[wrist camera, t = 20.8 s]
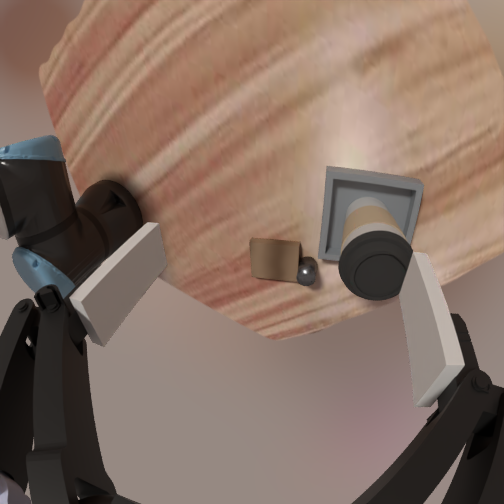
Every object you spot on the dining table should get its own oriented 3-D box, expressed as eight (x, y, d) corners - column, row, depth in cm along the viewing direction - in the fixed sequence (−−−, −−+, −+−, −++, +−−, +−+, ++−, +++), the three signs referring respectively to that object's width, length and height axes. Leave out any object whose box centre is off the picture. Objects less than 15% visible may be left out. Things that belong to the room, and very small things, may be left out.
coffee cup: (365, 254, 44) (372, 322, 32) (325, 217, 42) (320, 278, 30) (407, 219, 39) (433, 279, 27) (368, 177, 37) (385, 225, 25)
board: (254, 270, 52) (251, 276, 51) (252, 236, 49) (249, 242, 47) (298, 275, 50) (297, 281, 49) (300, 240, 47) (298, 246, 45)
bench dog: (298, 270, 49) (295, 284, 46) (300, 255, 48) (297, 269, 44) (316, 272, 49) (314, 287, 45) (317, 257, 47) (316, 272, 44)
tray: (318, 250, 46) (317, 258, 44) (326, 165, 39) (326, 170, 37) (400, 260, 43) (402, 268, 41) (419, 179, 36) (424, 185, 34)
